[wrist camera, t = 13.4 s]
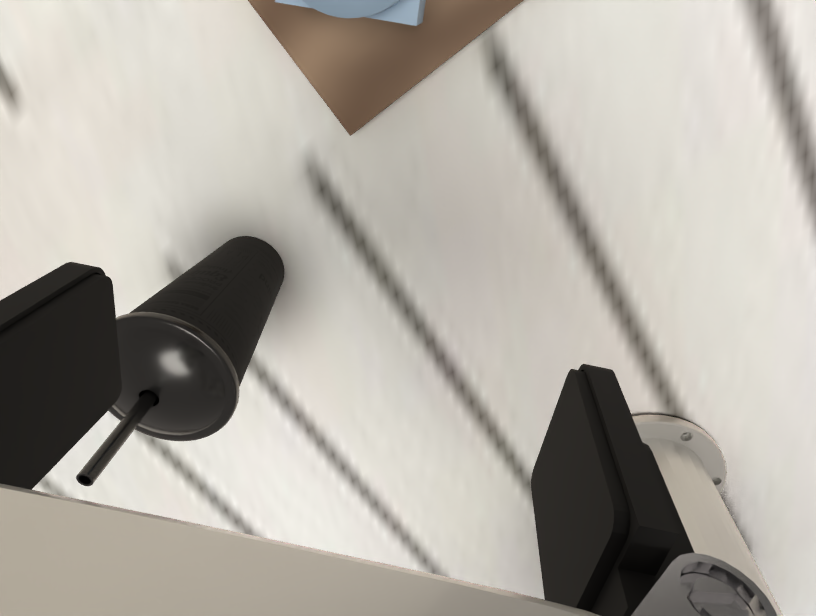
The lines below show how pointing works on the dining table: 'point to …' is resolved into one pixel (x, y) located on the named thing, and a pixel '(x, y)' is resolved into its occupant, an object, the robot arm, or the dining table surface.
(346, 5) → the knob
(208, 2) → the dining table surface
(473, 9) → the board
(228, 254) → the drinking cup
